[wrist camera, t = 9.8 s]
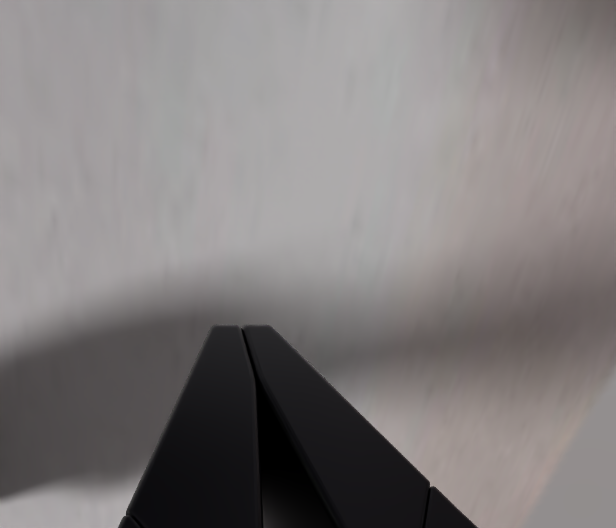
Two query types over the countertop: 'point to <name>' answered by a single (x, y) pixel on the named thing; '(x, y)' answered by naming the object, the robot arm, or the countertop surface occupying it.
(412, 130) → the countertop surface
